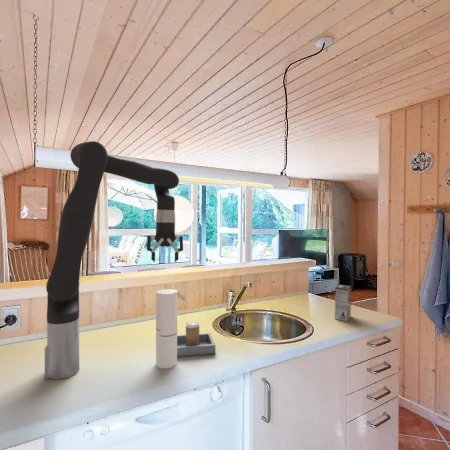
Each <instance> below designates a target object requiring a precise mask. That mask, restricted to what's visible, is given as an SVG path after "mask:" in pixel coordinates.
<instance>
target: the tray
mask: <svg viewBox="0 0 450 450" xmlns="http://www.w3.org/2000/svg"><path fill="white" fill-rule="evenodd" d="M199 343H200V345H195V346H186V334H179V335H178V334H177V359H178V358H187V357H188V358H191V357H202V356H212V355H216V344H215V340H214V339H213V336H212V334H211V332H207V333H206V332H205V333H199Z"/></svg>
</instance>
